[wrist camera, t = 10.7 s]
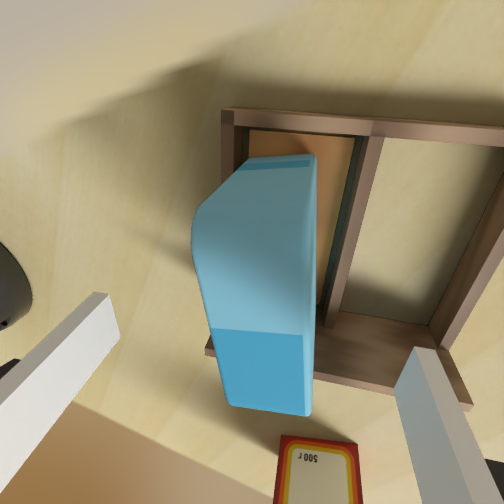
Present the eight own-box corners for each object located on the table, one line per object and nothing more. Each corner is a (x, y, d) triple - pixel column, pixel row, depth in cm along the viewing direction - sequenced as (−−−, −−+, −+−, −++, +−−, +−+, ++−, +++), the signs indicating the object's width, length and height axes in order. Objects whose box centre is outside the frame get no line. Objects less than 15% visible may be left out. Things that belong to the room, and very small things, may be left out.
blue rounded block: (251, 153, 20) (180, 219, 10) (316, 148, 19) (308, 217, 9) (265, 289, 26) (228, 418, 16) (316, 291, 25) (311, 431, 15)
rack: (230, 297, 28) (204, 355, 22) (232, 106, 19) (192, 116, 13) (434, 334, 25) (468, 412, 19) (541, 128, 16) (663, 152, 11)
